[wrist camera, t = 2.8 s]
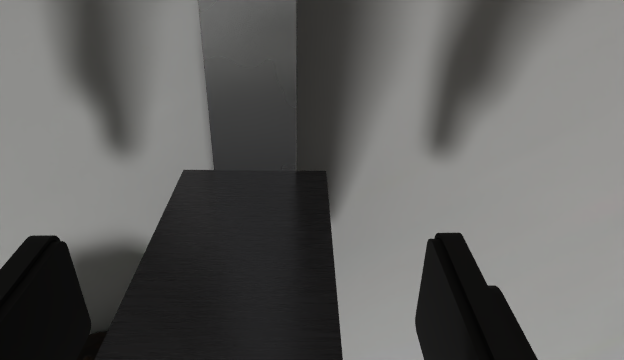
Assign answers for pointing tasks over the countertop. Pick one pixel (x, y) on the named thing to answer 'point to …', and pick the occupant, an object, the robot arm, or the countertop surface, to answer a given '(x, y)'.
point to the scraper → (239, 217)
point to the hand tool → (92, 346)
